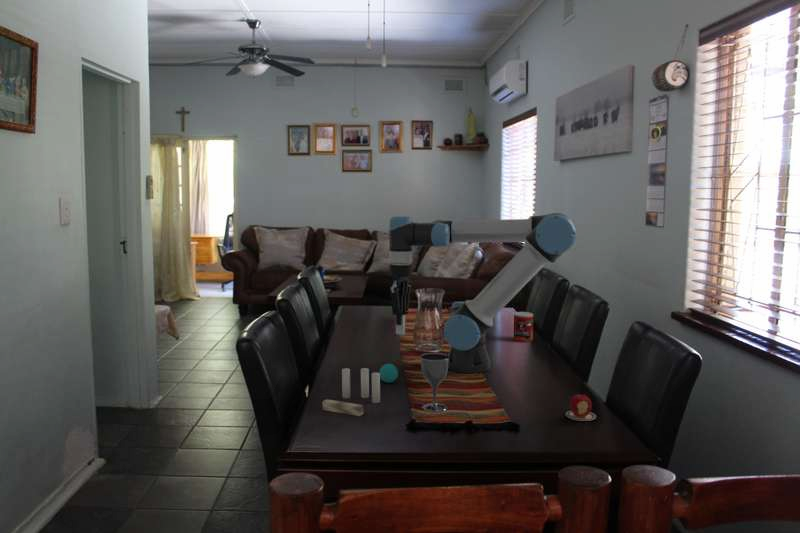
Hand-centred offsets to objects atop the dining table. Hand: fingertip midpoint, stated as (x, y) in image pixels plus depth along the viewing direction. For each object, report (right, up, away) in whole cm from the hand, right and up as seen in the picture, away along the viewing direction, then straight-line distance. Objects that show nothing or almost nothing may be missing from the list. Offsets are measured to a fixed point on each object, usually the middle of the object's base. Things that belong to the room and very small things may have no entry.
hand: (400, 333), depth 216 cm
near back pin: (-7, -17, -26) cm, 32 cm away
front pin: (-11, -17, -21) cm, 29 cm away
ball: (-4, -12, -7) cm, 14 cm away
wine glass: (+10, -18, -31) cm, 37 cm away
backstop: (-16, -18, -34) cm, 42 cm away
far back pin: (-16, -17, -21) cm, 32 cm away
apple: (+49, -19, -38) cm, 65 cm away
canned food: (+50, -8, +49) cm, 71 cm away
